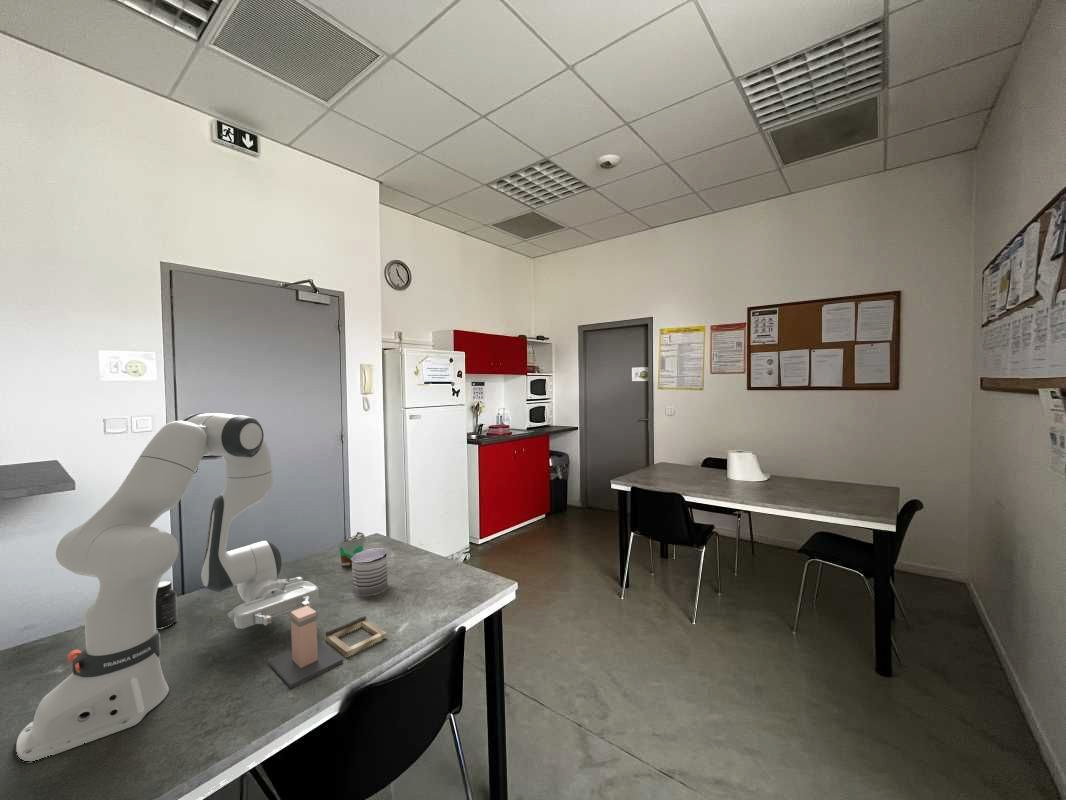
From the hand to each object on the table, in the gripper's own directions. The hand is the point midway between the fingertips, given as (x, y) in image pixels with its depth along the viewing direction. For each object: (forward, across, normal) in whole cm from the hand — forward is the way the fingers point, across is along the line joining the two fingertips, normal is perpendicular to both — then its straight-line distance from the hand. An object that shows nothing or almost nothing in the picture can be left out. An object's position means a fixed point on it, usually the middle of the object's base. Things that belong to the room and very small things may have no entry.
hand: (288, 613), depth 115 cm
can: (-15, +31, +9) cm, 36 cm away
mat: (+10, 0, +9) cm, 13 cm away
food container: (-40, +39, +10) cm, 57 cm away
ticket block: (+10, 0, +8) cm, 13 cm away
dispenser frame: (+10, +13, +9) cm, 19 cm away
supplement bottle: (-41, -19, +9) cm, 46 cm away
